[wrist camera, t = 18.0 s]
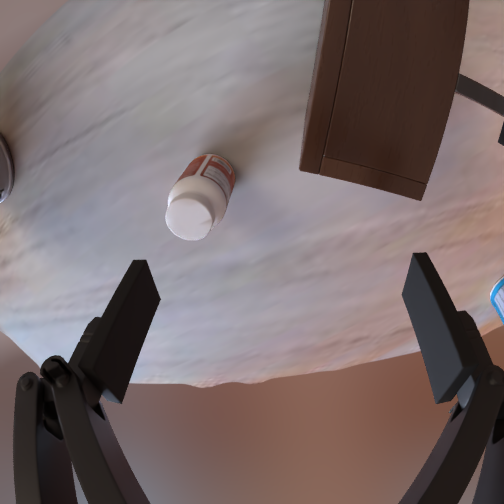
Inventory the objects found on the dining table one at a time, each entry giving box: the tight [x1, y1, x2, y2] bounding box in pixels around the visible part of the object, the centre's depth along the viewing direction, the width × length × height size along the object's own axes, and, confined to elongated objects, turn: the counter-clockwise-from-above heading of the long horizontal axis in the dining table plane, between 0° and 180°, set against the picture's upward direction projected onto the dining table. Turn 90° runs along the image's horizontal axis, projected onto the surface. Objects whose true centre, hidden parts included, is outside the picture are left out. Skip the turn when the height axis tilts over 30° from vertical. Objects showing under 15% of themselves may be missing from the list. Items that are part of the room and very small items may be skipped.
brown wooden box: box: [299, 0, 504, 201], centre depth 19 cm, size 19×16×16 cm
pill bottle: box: [166, 154, 235, 240], centre depth 33 cm, size 6×6×11 cm
